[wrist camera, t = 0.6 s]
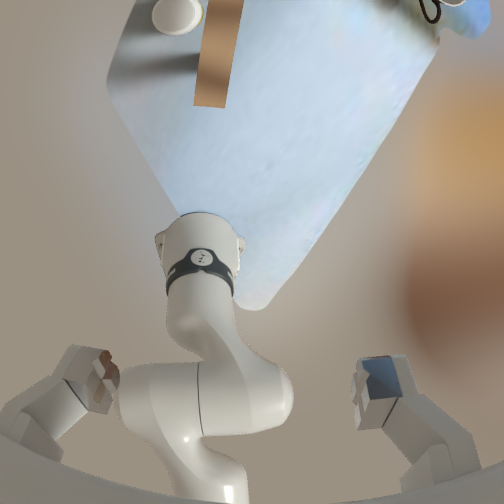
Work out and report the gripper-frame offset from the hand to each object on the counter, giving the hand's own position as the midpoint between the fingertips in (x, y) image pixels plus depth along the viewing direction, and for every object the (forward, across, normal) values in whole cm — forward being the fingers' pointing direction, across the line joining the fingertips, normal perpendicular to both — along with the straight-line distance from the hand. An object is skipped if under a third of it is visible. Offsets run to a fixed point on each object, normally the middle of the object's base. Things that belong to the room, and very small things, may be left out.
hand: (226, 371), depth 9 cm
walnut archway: (+41, -6, +20) cm, 46 cm away
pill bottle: (+40, -11, +21) cm, 46 cm away
